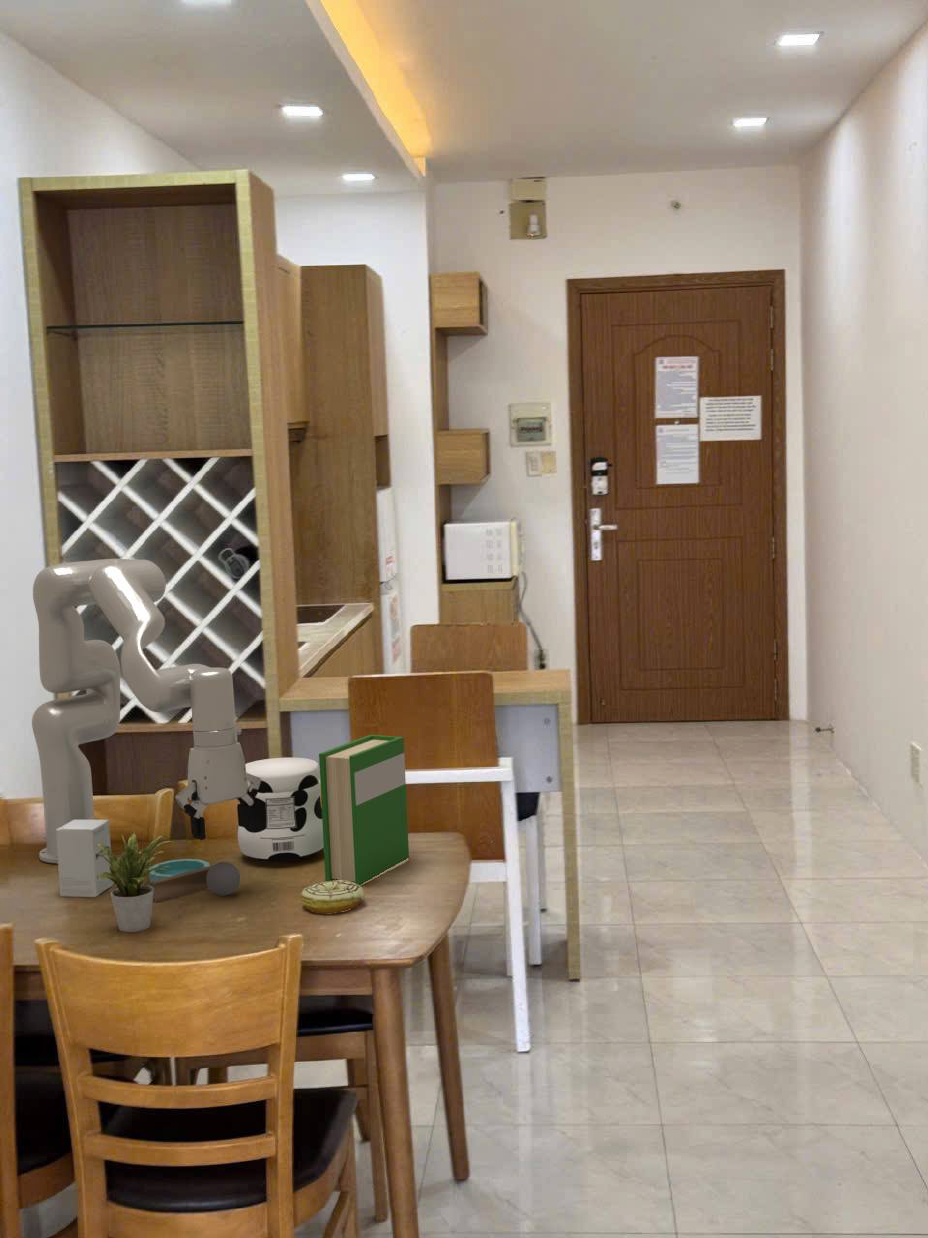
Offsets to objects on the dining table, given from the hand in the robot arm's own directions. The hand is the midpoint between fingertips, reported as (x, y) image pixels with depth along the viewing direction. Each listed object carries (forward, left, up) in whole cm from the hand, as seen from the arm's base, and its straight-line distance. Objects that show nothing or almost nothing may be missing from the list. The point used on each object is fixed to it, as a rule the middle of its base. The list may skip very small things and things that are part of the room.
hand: (222, 832), depth 258 cm
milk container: (-13, +22, -12) cm, 28 cm away
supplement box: (-23, -15, -12) cm, 30 cm away
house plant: (+4, -20, -12) cm, 23 cm away
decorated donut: (+19, +9, -12) cm, 25 cm away
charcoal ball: (-1, 0, -9) cm, 9 cm away
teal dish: (-15, 0, -12) cm, 19 cm away
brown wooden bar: (-7, -3, -12) cm, 14 cm away
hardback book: (+8, +26, -12) cm, 30 cm away
